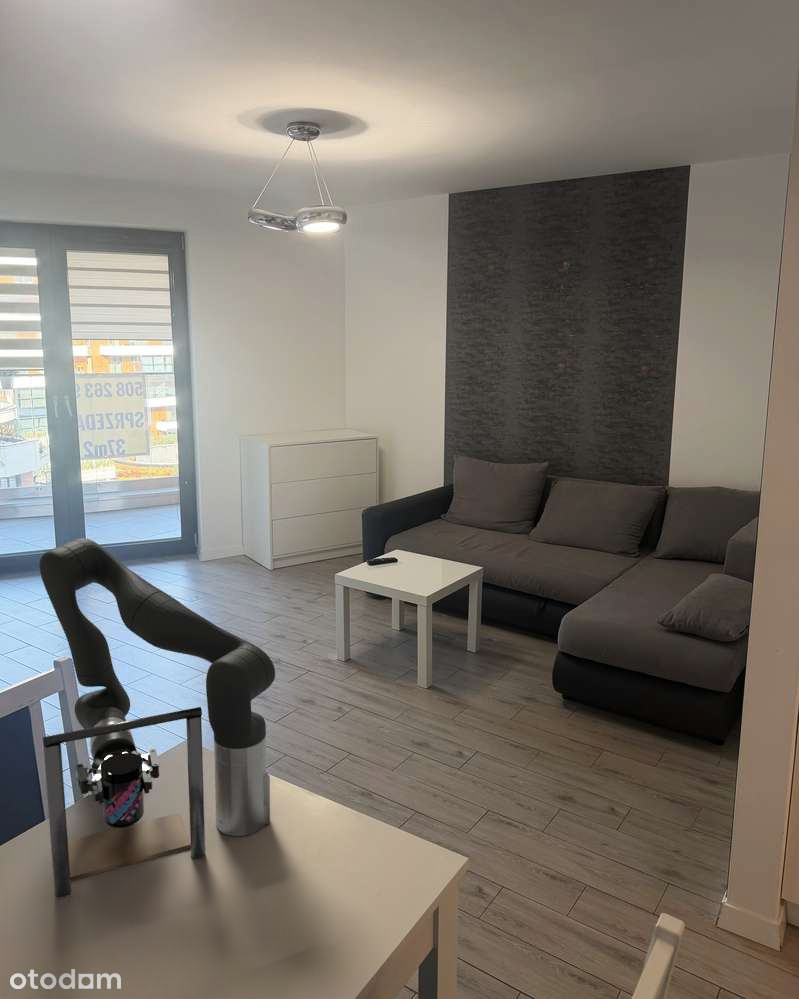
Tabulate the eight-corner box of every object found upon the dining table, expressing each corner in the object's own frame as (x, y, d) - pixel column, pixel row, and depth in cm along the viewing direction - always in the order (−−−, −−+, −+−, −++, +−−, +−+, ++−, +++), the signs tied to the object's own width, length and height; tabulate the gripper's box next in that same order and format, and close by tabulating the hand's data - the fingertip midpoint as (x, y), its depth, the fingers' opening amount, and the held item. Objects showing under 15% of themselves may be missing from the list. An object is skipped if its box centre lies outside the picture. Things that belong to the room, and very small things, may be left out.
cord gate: (203, 848, 131) (199, 704, 126) (206, 857, 129) (202, 710, 124) (54, 890, 121) (42, 734, 115) (55, 899, 119) (43, 741, 113)
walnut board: (179, 815, 140) (179, 812, 140) (190, 847, 132) (190, 844, 132) (62, 845, 131) (62, 842, 131) (66, 881, 123) (66, 878, 123)
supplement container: (95, 826, 128) (92, 771, 126) (115, 803, 134) (113, 750, 132) (132, 832, 127) (130, 777, 125) (151, 808, 133) (149, 755, 131)
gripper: (70, 735, 138) (77, 783, 123) (151, 719, 144) (167, 764, 130) (72, 771, 139) (80, 824, 125) (152, 755, 146) (168, 802, 131)
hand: (124, 793), depth 127 cm, fingers closed on supplement container, 6 cm apart
